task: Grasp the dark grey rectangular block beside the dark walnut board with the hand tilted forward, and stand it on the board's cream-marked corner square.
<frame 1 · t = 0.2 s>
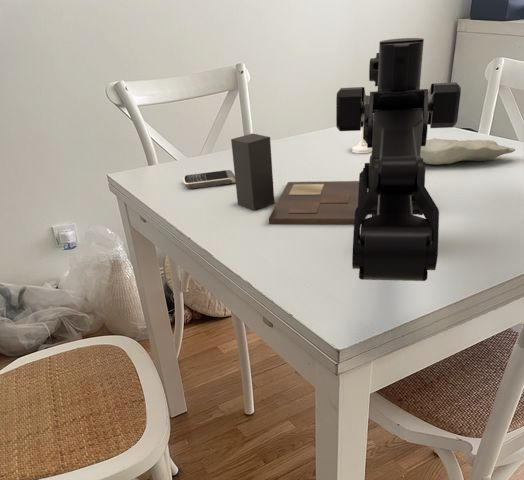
hand: (396, 97, 92), 17 cm above the table, tool horizontal, fingers open, 9 cm apart
chess piece: (362, 151, 127), on the table
stone tool replica: (450, 163, 114), on the table
dark grey rectangular block: (256, 204, 102), on the table
cell phone: (210, 183, 115), on the table
game board: (319, 203, 100), on the table
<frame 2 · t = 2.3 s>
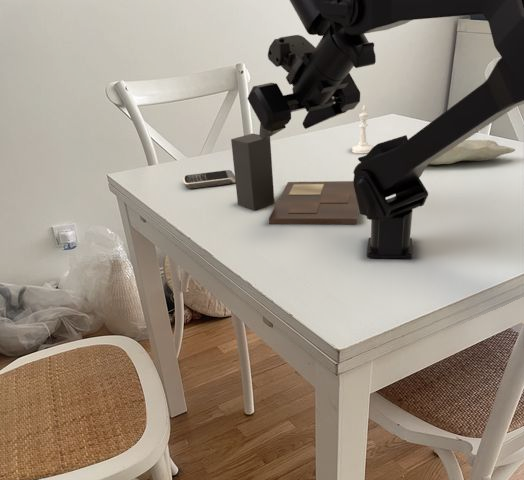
hand: (283, 131, 89), 14 cm above the table, tool tilted 45°, fingers open, 9 cm apart
nothing on the table moved.
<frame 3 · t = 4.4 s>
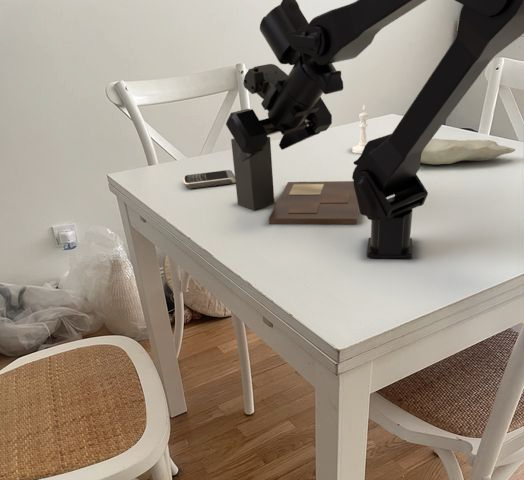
hand: (261, 153, 95), 10 cm above the table, tool tilted 45°, fingers open, 9 cm apart
nothing on the table moved.
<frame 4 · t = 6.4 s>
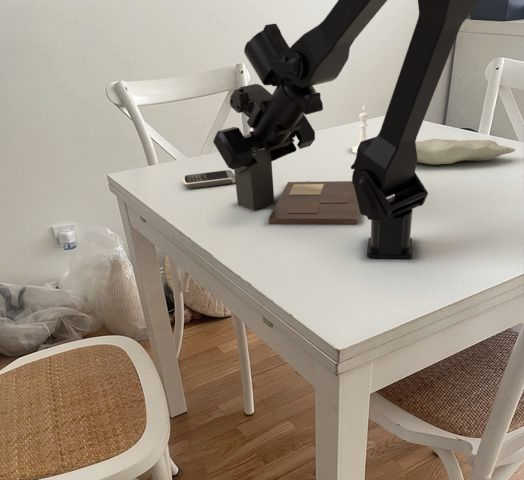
hand: (248, 167, 99), 7 cm above the table, tool tilted 45°, fingers closed on dark grey rectangular block, 5 cm apart
dark grey rectangular block: (256, 204, 102), on the table, touching gripper
everything else where it was.
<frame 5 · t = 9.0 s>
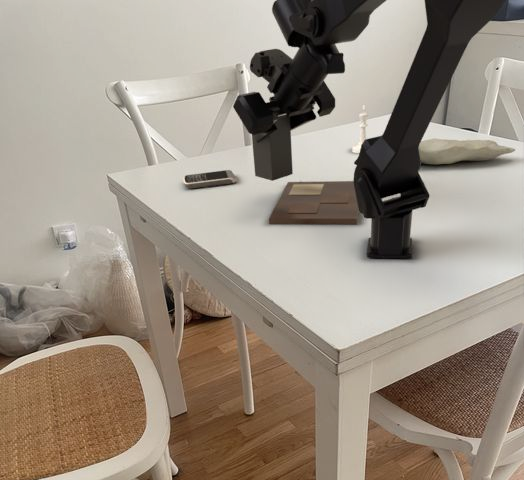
hand: (266, 137, 97), 11 cm above the table, tool tilted 45°, fingers closed on dark grey rectangular block, 5 cm apart
dark grey rectangular block: (273, 175, 100), point 5 cm above the table, touching gripper
everything else where it was.
when the fingers open (8 cm above the table, at t = 11.8 s): dark grey rectangular block stays where it is, resting on game board.
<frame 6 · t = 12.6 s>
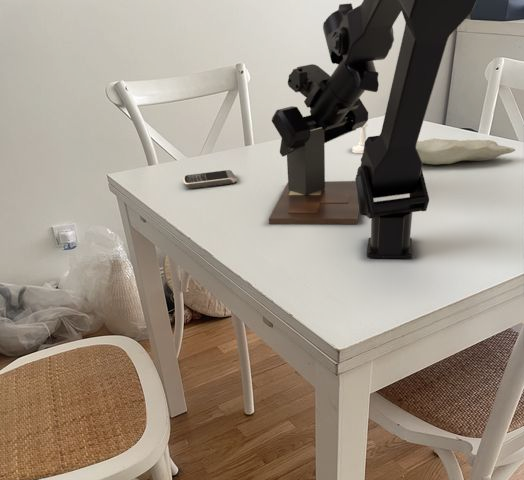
hand: (300, 148, 100), 8 cm above the table, tool tilted 45°, fingers open, 9 cm apart
dark grey rectangular block: (306, 189, 104), point 1 cm above the table, touching game board
everything else where it was.
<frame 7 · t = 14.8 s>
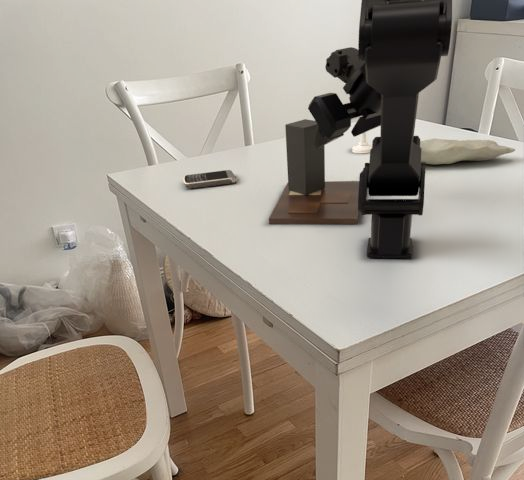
hand: (334, 140, 93), 11 cm above the table, tool tilted 45°, fingers open, 9 cm apart
nothing on the table moved.
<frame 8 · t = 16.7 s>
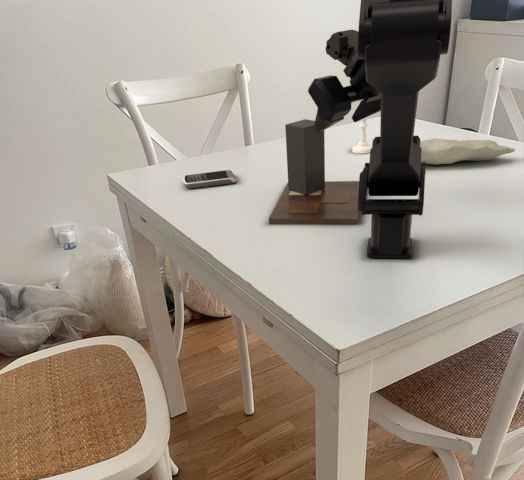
hand: (335, 125, 92), 14 cm above the table, tool tilted 45°, fingers open, 9 cm apart
nothing on the table moved.
at the end: dark grey rectangular block 0.1 cm from the target spot on the game board, point 1.1 cm above the game board's base; dark grey rectangular block tilted 0°; the gripper is holding nothing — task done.
